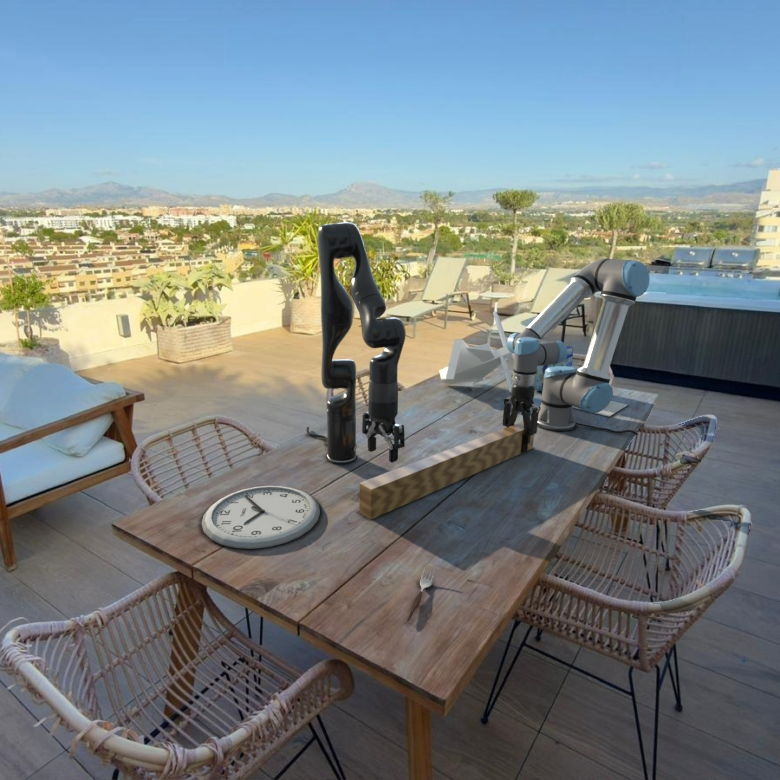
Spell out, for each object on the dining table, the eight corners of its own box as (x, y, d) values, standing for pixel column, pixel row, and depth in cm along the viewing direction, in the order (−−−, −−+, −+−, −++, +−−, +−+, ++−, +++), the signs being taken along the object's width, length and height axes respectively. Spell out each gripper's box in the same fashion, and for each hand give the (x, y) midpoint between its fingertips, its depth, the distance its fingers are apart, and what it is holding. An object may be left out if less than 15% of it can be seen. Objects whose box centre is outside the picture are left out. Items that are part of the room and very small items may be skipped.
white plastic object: (461, 429, 252) (437, 405, 227) (444, 352, 274) (420, 323, 250) (535, 404, 240) (518, 377, 215) (510, 326, 262) (492, 293, 237)
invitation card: (608, 416, 214) (573, 407, 224) (608, 416, 214) (573, 408, 224) (628, 404, 229) (594, 396, 238) (628, 405, 229) (594, 397, 238)
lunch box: (545, 396, 239) (550, 351, 232) (524, 391, 246) (528, 347, 240) (572, 385, 256) (577, 343, 250) (552, 380, 263) (557, 339, 257)
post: (521, 444, 186) (523, 421, 183) (532, 448, 182) (535, 425, 180) (359, 512, 140) (359, 482, 137) (370, 519, 136) (371, 489, 134)
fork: (401, 621, 101) (401, 612, 100) (424, 572, 115) (424, 565, 115) (413, 625, 100) (414, 616, 100) (435, 575, 114) (436, 567, 114)
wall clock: (317, 540, 124) (186, 544, 121) (317, 546, 124) (187, 551, 121) (322, 481, 152) (216, 484, 150) (322, 486, 153) (216, 489, 150)
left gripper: (354, 393, 135) (354, 451, 140) (390, 407, 125) (389, 469, 129) (376, 388, 140) (376, 444, 144) (413, 401, 129) (411, 461, 134)
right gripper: (494, 380, 177) (489, 443, 184) (540, 393, 164) (533, 460, 171) (508, 376, 182) (502, 438, 189) (553, 388, 169) (545, 454, 176)
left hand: (382, 456), depth 137 cm, fingers open, 8 cm apart
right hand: (517, 449), depth 180 cm, fingers closed on post, 5 cm apart
